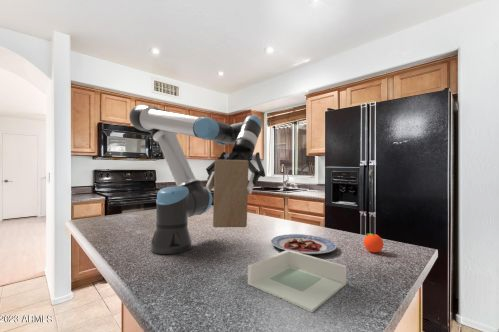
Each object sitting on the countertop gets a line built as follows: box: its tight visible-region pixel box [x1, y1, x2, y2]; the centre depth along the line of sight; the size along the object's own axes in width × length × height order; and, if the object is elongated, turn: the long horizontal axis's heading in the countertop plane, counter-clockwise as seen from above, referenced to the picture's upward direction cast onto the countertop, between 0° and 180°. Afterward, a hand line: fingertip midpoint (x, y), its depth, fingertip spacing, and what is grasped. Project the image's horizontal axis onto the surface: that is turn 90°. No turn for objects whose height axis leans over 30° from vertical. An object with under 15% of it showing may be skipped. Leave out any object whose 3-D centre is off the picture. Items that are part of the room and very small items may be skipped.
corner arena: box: [247, 250, 347, 313], centre depth 68 cm, size 19×19×5 cm
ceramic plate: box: [270, 233, 338, 255], centre depth 101 cm, size 26×26×3 cm
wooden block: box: [212, 158, 249, 228], centre depth 79 cm, size 10×10×20 cm
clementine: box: [361, 233, 384, 254], centre depth 98 cm, size 8×7×7 cm
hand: (228, 190), depth 77 cm, fingers closed on wooden block, 13 cm apart
